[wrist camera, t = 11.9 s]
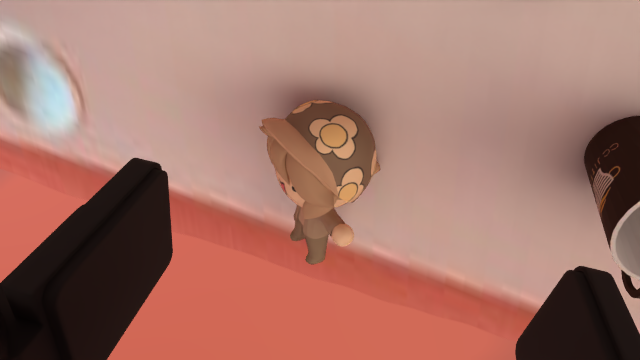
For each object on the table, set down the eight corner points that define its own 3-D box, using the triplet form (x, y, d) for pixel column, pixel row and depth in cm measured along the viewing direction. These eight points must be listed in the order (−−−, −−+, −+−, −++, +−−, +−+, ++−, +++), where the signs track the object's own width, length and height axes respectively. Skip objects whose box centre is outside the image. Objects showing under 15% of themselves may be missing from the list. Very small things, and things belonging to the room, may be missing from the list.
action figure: (236, 226, 43) (243, 86, 33) (331, 199, 48) (361, 72, 39) (283, 308, 36) (309, 165, 27) (386, 266, 42) (438, 135, 32)
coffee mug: (625, 82, 32) (693, 153, 24) (726, 132, 32) (825, 218, 24) (522, 195, 39) (547, 280, 31) (606, 234, 39) (653, 328, 31)
